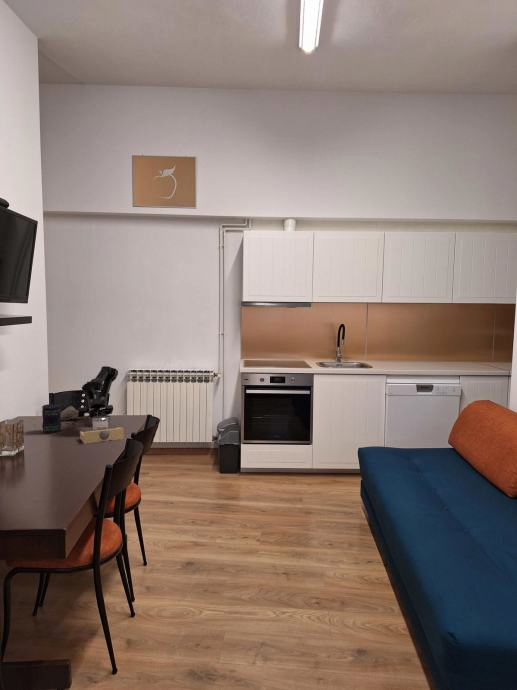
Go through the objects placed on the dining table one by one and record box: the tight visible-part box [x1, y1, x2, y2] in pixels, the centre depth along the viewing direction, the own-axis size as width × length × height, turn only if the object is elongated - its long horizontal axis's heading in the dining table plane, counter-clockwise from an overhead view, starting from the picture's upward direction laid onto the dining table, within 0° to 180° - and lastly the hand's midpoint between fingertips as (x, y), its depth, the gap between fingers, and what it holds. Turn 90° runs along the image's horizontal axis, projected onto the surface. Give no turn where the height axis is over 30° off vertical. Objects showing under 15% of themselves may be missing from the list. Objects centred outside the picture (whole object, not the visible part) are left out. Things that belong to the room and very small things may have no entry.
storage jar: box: [41, 403, 62, 435], centre depth 272 cm, size 10×10×15 cm
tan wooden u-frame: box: [79, 427, 125, 445], centre depth 260 cm, size 11×20×6 cm, turn 121°
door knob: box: [91, 415, 109, 431], centre depth 263 cm, size 14×14×11 cm
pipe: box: [61, 405, 79, 422], centre depth 301 cm, size 16×9×15 cm
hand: (98, 423), depth 266 cm, fingers closed, pressing on door knob
